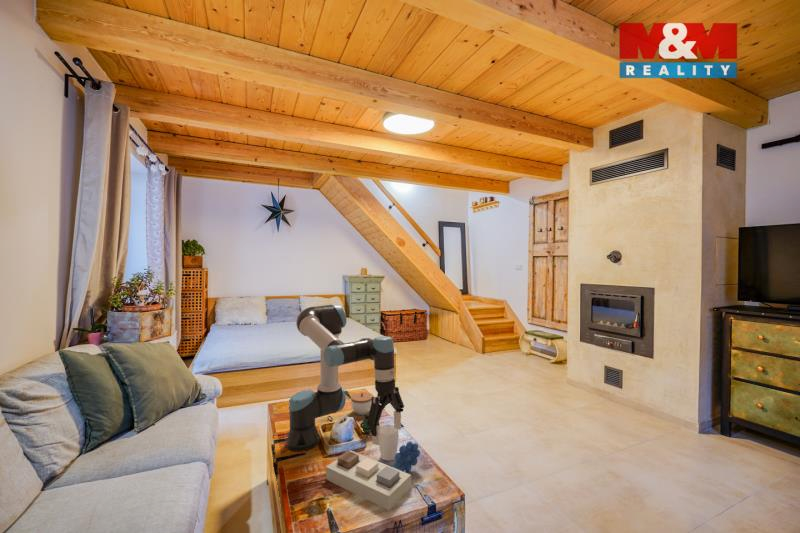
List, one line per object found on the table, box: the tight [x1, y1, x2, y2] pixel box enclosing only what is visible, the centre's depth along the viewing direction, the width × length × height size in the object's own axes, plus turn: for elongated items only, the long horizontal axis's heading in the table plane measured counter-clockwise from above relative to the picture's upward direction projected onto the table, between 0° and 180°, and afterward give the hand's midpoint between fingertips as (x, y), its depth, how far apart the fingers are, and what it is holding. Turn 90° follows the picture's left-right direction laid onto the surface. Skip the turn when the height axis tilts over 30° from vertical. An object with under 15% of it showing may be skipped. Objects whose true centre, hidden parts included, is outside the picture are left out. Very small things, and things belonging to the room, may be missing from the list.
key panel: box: [325, 450, 412, 511], centre depth 133 cm, size 31×14×5 cm, turn 55°
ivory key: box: [356, 458, 378, 479], centre depth 133 cm, size 6×6×4 cm
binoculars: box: [359, 413, 381, 438], centre depth 172 cm, size 9×11×10 cm
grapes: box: [393, 441, 421, 473], centre depth 140 cm, size 12×7×12 cm, turn 115°
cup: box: [378, 424, 400, 462], centre depth 150 cm, size 9×9×12 cm
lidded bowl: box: [350, 391, 374, 416], centre depth 195 cm, size 13×13×11 cm
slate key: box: [377, 466, 400, 488], centre depth 127 cm, size 6×6×4 cm
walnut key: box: [337, 450, 359, 470], centre depth 138 cm, size 6×6×4 cm
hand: (387, 436), depth 128 cm, fingers open, 13 cm apart
